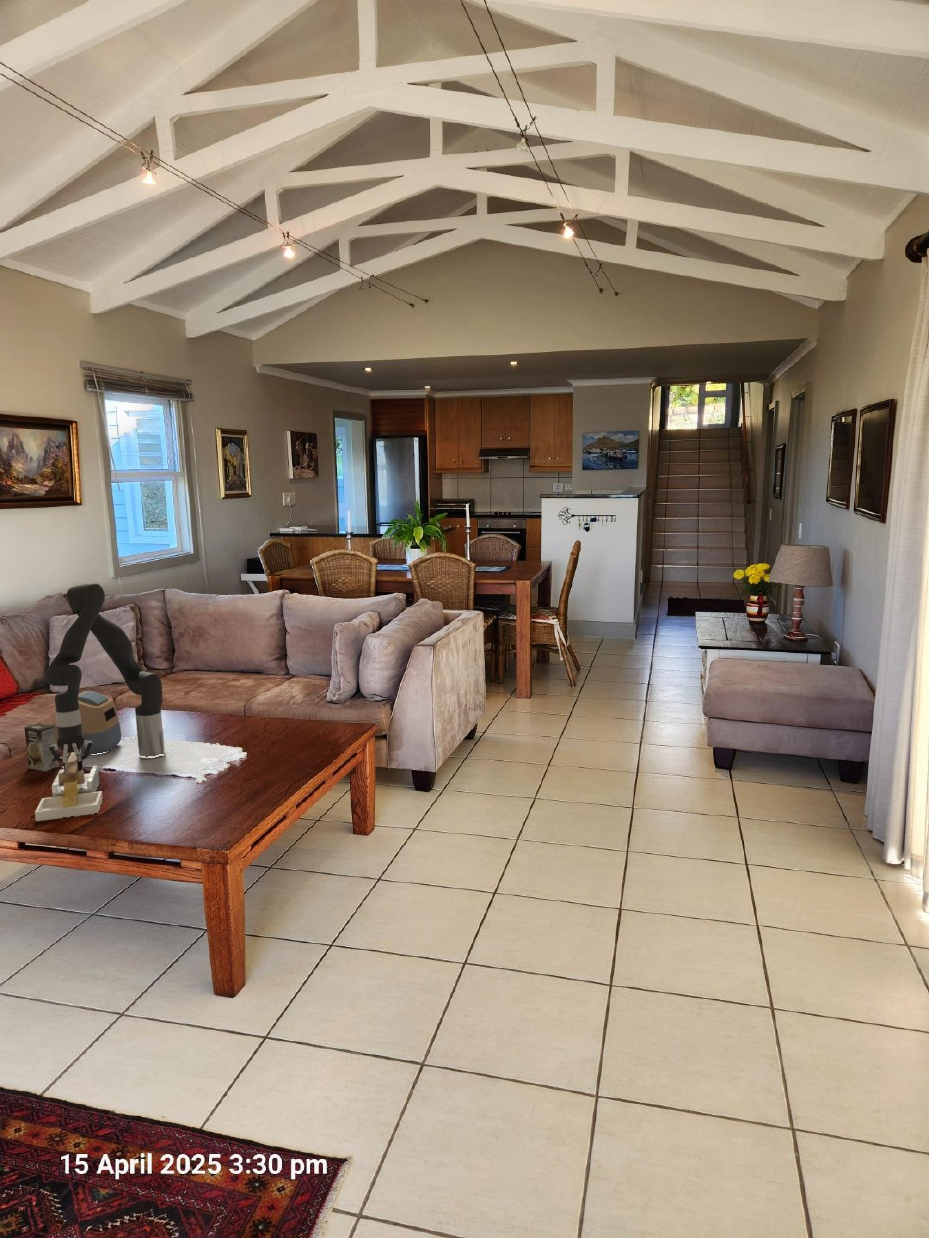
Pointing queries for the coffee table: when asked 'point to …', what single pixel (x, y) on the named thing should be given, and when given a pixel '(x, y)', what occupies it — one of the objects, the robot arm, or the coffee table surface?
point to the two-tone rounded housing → (98, 722)
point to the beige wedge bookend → (71, 771)
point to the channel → (87, 787)
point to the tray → (55, 810)
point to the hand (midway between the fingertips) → (73, 771)
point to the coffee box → (40, 746)
